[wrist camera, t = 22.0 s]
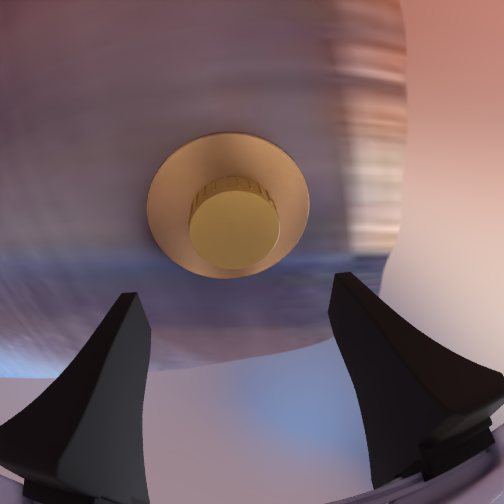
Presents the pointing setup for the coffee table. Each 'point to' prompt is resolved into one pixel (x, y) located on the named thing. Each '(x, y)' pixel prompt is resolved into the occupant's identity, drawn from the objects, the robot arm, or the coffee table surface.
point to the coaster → (216, 167)
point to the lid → (233, 223)
